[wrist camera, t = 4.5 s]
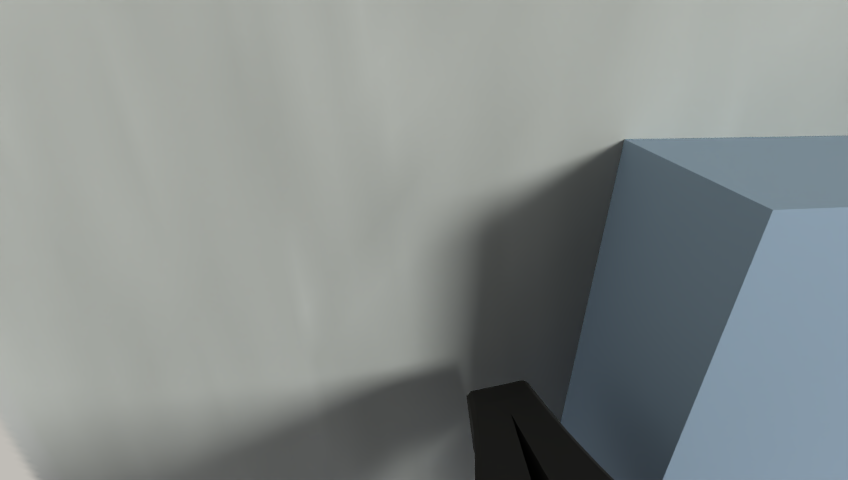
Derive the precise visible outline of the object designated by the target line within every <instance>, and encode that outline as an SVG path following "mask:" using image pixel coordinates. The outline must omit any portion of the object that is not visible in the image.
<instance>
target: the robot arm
mask: <svg viewBox="0 0 848 480" xmlns="http://www.w3.org/2000/svg"><path fill="white" fill-rule="evenodd" d="M467 403H468V410H469V418H470V425H471V433H472V440H473V448H474V452H475V480H614V479H613V478H612V477H611V476H610V475H609V474H608V473H607V472H606V471H605V470H604V469H603V468H602V467H601V466H600V465H599V464H598V463H597V462H596V461H595V460H594V459H593V458H592V457H591V456H590V454H589V453H588V452H587V451H586V450H585V449H584V448H583V447H582V446H581V445H580V444H579V443H578V442H577V441H576V440H575V439H574V437H573V436H572V435H571V434H570V433H569V432H568V431H567V430H566V429H565V427H564V426H563V425H562V424H561V423H560V422H559V421H558V419H557V418H556V417H555V416H554V415H553V414H552V412H551V411H550V410H549V409H548V408H547V406H546V405H545V404H544V403H543V401H542V400H541V399H540V398H539V396H538V395H537V394H536V393H535V391H534V390H533V389H532V387H531V386H530V385H529V383H527V382H526V381H524V380H523V381H518V382H513V383H508V384H504V385H499V386H494V387H490V388H485V389H480V390H475V391H471V392H470V393H469V394H468V395H467Z"/></svg>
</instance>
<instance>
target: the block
mask: <svg viewBox="0 0 848 480" xmlns="http://www.w3.org/2000/svg"><path fill="white" fill-rule="evenodd" d="M561 424H562V425H563V426H564V427H565V429H566V430H567V431H568V432H569V433H570V434H571V435H572V436H573V437H574V439H575V440H576V441H577V442H578V443H579V444H580V445H581V446H582V447H583V448H584V449H585V450H586V451H587V452H588V453H589V454H590V456H591V457H592V458H593V459H594V460H595V461H596V462H597V463H598V464H599V465H600V466H601V467H602V468H603V469H604V470H605V471H606V472H607V473H608V474H609V475H610V476H611V477H612V478H613V479H614V480H848V136H800V137H739V138H678V139H625V140H624V144H623V149H622V153H621V157H620V162H619V166H618V171H617V175H616V180H615V184H614V188H613V193H612V197H611V202H610V206H609V211H608V215H607V219H606V224H605V228H604V233H603V237H602V241H601V246H600V250H599V255H598V259H597V264H596V268H595V272H594V277H593V281H592V286H591V290H590V295H589V299H588V303H587V308H586V312H585V317H584V321H583V326H582V330H581V334H580V339H579V343H578V348H577V352H576V357H575V361H574V365H573V370H572V374H571V379H570V383H569V388H568V392H567V396H566V401H565V405H564V410H563V414H562V419H561Z"/></svg>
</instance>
